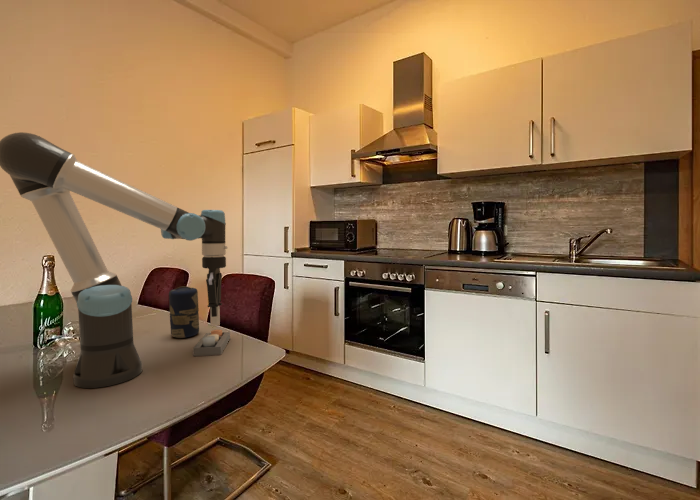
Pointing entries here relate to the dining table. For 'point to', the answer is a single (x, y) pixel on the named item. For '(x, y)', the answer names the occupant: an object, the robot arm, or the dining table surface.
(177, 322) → the canister
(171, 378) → the dining table surface
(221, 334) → the terracotta button
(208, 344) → the slate button
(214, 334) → the cream button
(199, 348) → the grey tray
